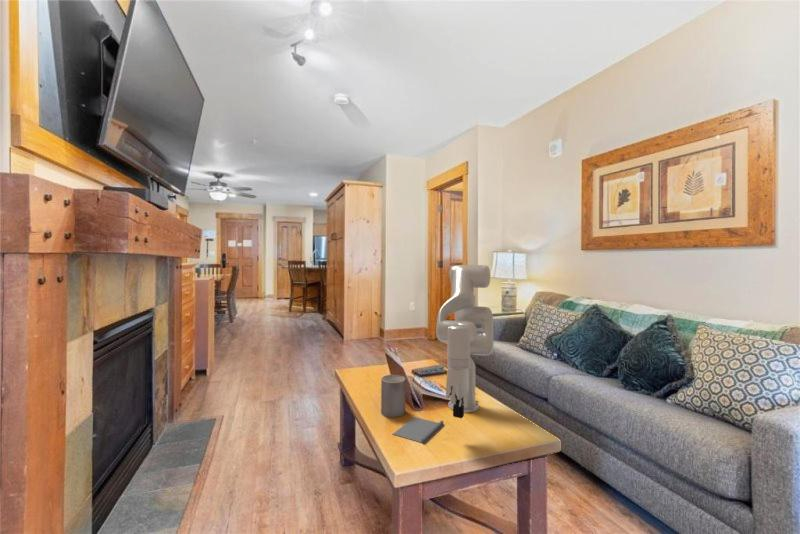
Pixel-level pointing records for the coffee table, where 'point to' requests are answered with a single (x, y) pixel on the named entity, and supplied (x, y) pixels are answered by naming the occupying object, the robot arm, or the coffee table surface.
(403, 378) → the pillar candle
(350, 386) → the coffee table surface
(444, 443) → the coffee table surface
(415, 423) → the slate mat
